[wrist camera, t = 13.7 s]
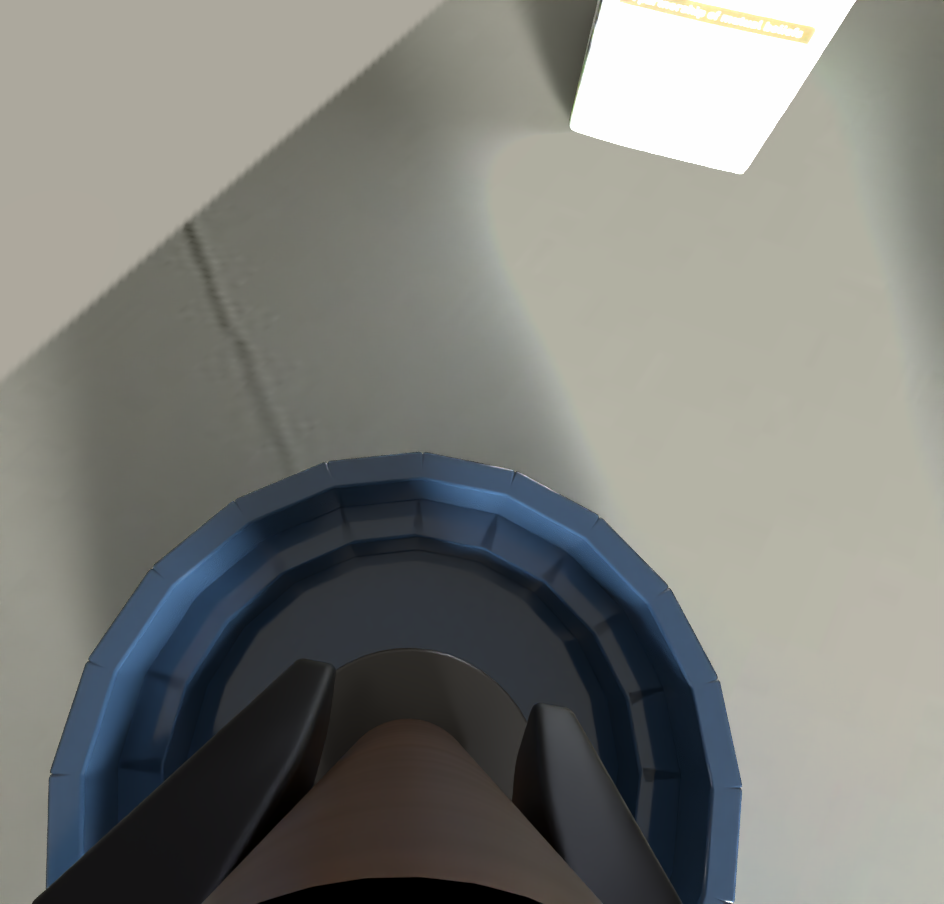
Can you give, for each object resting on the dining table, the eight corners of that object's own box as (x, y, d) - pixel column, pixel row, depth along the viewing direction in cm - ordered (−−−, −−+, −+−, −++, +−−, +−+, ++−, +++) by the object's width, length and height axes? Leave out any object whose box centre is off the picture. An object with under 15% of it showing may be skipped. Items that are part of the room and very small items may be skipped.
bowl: (772, 767, 18) (872, 790, 14) (383, 1237, 15) (375, 1432, 11) (424, 406, 20) (428, 340, 16) (14, 751, 17) (-103, 771, 13)
